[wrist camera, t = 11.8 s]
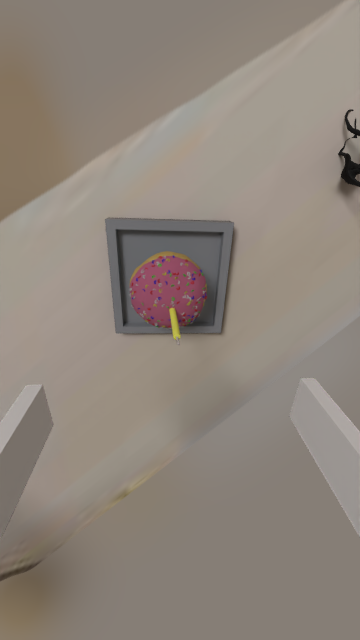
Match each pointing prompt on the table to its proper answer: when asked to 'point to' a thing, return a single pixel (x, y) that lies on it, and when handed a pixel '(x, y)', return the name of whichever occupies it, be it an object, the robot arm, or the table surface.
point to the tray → (175, 236)
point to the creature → (350, 167)
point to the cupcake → (168, 291)
